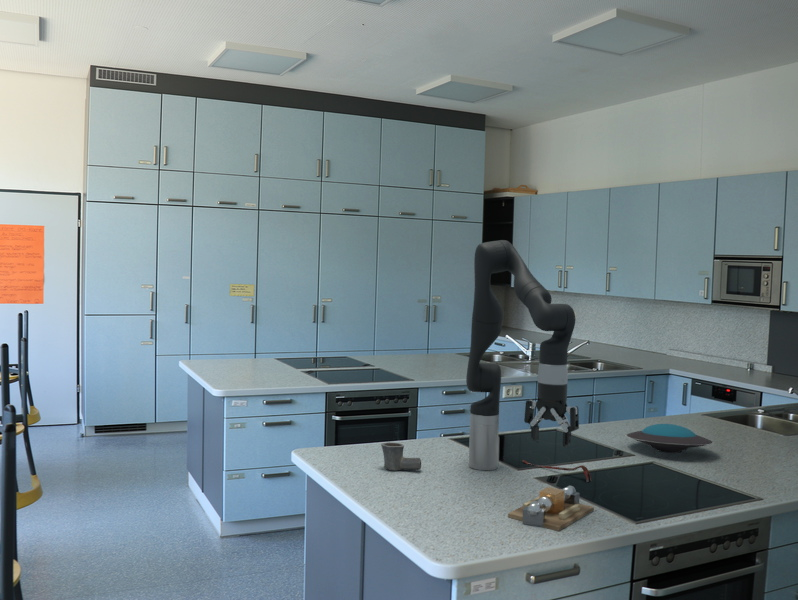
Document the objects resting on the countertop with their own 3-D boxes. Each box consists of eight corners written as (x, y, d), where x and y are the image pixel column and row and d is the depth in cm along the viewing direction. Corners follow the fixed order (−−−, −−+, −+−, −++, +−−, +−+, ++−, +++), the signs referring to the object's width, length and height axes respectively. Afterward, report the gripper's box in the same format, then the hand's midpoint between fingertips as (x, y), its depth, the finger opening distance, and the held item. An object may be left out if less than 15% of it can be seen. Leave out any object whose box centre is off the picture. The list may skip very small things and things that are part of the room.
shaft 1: (525, 518, 173) (525, 499, 173) (545, 521, 171) (545, 502, 171) (522, 524, 169) (523, 504, 169) (543, 526, 168) (543, 507, 167)
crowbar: (592, 482, 207) (590, 465, 207) (587, 483, 205) (586, 466, 206) (526, 474, 227) (525, 458, 227) (521, 475, 225) (520, 459, 226)
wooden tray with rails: (545, 498, 189) (545, 489, 189) (593, 510, 180) (593, 501, 180) (508, 517, 174) (508, 507, 174) (558, 531, 165) (558, 520, 165)
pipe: (419, 474, 210) (419, 448, 210) (378, 471, 212) (378, 445, 212) (422, 469, 216) (422, 443, 216) (382, 465, 218) (383, 441, 218)
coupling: (552, 503, 182) (552, 484, 182) (567, 507, 180) (568, 488, 179) (534, 512, 175) (534, 493, 175) (550, 517, 172) (551, 497, 172)
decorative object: (718, 450, 250) (719, 422, 250) (705, 467, 226) (706, 437, 225) (635, 438, 266) (636, 412, 265) (615, 453, 241) (616, 425, 241)
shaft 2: (562, 501, 187) (562, 483, 187) (579, 505, 184) (579, 487, 184) (555, 505, 184) (555, 487, 184) (572, 509, 181) (573, 491, 181)
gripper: (584, 382, 175) (582, 445, 176) (534, 376, 184) (532, 436, 185) (571, 386, 169) (569, 451, 170) (520, 379, 178) (518, 440, 179)
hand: (550, 443), depth 178 cm, fingers open, 8 cm apart
